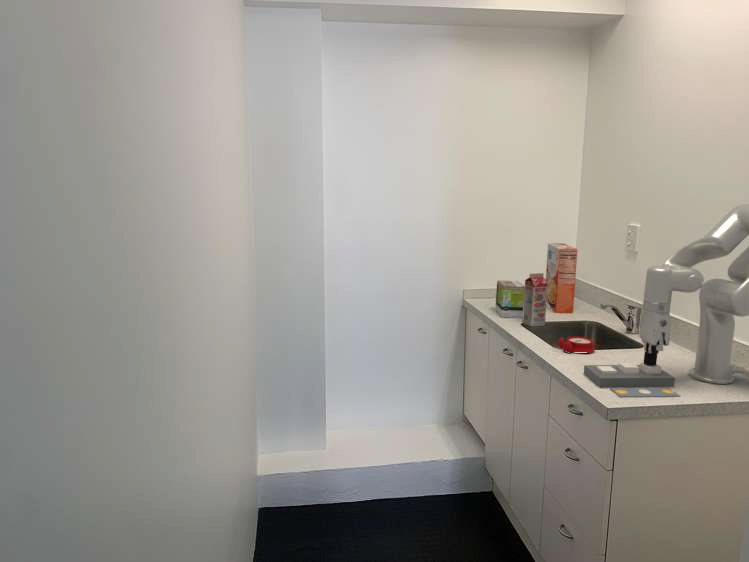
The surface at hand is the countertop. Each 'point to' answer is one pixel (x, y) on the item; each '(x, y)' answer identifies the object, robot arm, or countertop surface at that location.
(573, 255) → the pasta box
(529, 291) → the juice carton
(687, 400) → the countertop surface
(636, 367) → the key middle
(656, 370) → the key
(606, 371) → the key
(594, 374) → the button board
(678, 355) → the countertop surface
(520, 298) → the tea box
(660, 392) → the pattern card
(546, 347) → the countertop surface
